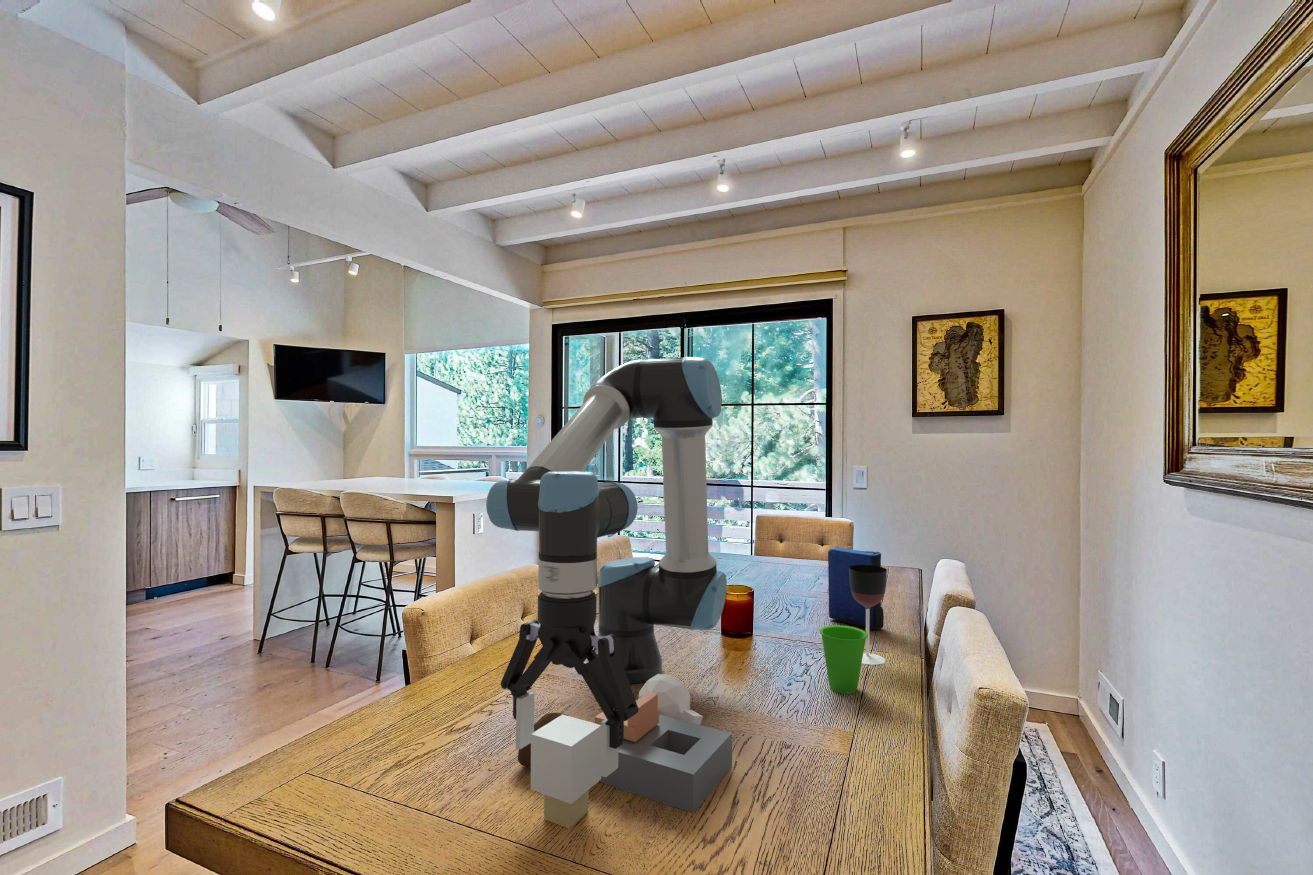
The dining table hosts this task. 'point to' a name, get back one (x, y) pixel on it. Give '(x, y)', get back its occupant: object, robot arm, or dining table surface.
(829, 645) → the cup
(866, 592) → the wineglass
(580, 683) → the dining table surface
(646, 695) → the orange l-shaped block
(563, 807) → the plug
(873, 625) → the book
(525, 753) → the potato
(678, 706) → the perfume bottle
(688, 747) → the socket board
